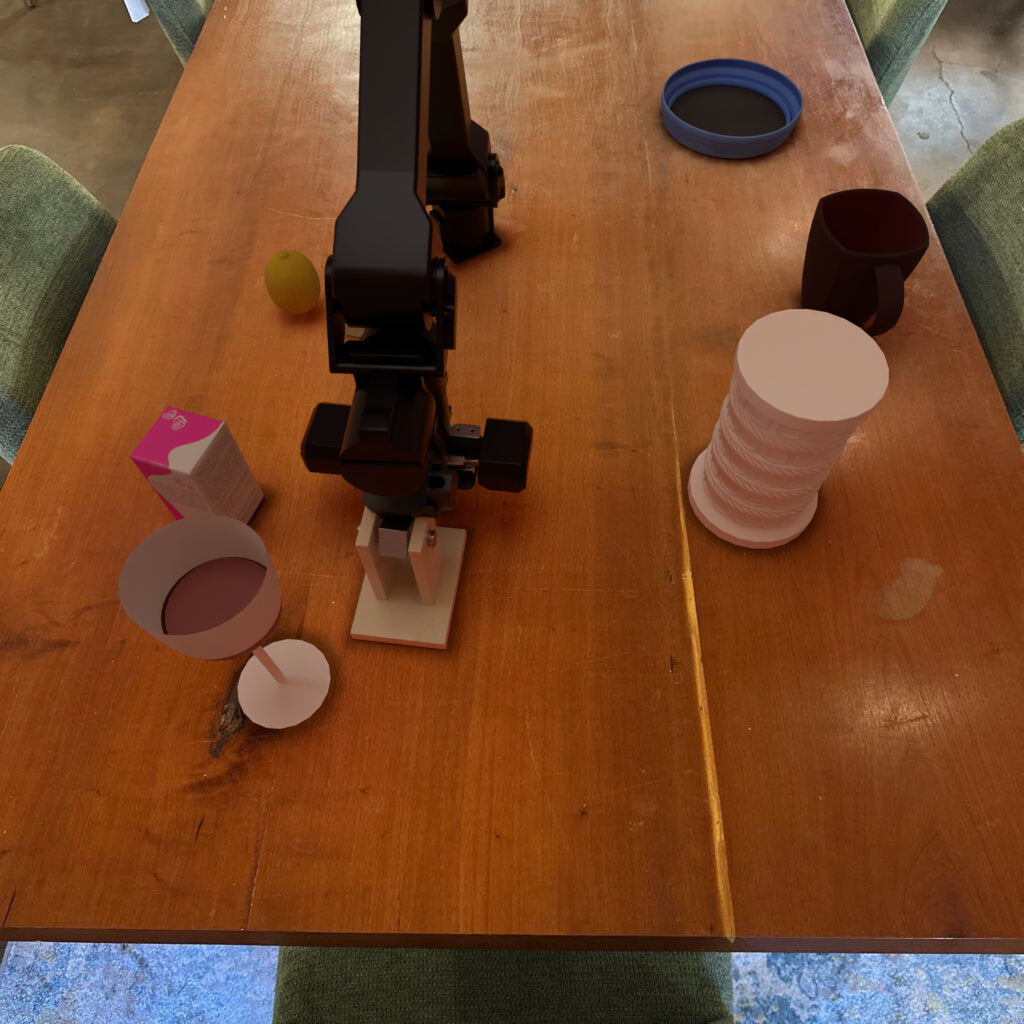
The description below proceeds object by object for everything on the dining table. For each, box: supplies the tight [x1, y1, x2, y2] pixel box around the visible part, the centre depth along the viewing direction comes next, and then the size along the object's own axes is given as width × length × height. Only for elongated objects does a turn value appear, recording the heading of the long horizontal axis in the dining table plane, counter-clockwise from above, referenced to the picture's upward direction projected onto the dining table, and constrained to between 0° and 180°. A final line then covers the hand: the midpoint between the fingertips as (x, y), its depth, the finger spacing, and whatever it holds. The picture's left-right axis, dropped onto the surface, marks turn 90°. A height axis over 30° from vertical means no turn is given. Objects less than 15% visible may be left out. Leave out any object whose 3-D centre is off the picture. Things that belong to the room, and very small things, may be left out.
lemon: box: [264, 249, 322, 315], centre depth 81 cm, size 6×6×8 cm
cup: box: [800, 188, 930, 338], centre depth 77 cm, size 10×14×12 cm
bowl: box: [660, 57, 805, 159], centre depth 100 cm, size 18×18×4 cm
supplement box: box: [129, 405, 266, 527], centre depth 66 cm, size 6×6×12 cm
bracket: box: [349, 505, 468, 650], centre depth 62 cm, size 11×8×11 cm
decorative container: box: [686, 308, 890, 549], centre depth 63 cm, size 12×12×18 cm
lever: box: [378, 517, 414, 558], centre depth 63 cm, size 13×3×3 cm
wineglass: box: [117, 515, 332, 730], centre depth 54 cm, size 8×9×20 cm
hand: (429, 501), depth 71 cm, fingers closed on lever, 3 cm apart
